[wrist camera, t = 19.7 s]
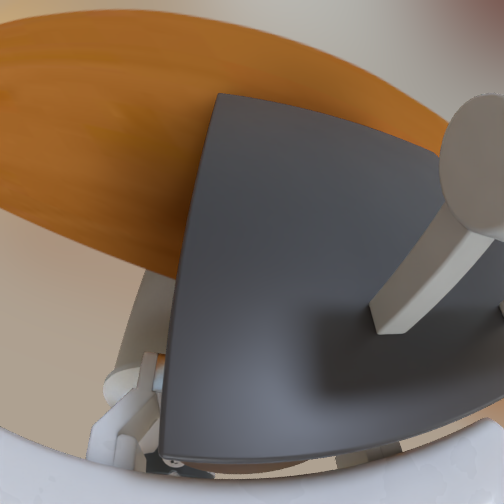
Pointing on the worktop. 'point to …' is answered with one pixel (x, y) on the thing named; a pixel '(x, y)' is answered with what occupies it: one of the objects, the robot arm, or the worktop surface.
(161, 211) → the worktop surface
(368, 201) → the grey lid with handle
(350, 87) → the worktop surface
